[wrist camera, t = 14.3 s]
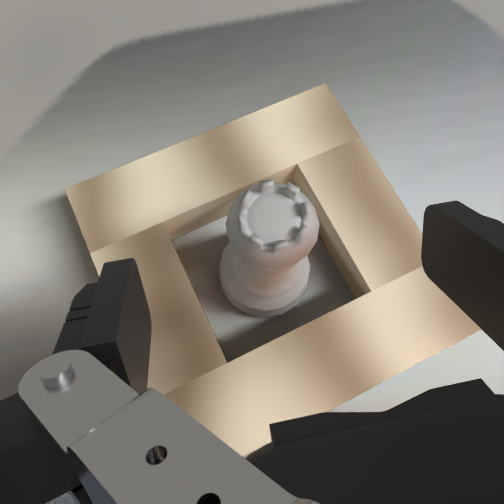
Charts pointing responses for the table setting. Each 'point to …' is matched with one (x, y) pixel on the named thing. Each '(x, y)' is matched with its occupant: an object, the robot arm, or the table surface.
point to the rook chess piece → (268, 248)
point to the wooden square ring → (332, 234)
